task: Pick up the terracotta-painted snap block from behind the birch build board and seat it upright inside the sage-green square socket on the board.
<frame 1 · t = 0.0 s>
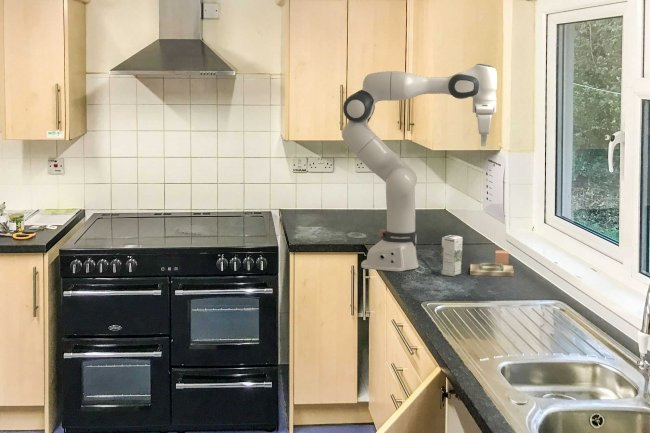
hand: (483, 145, 331), 48 cm above the table, fingers open, 8 cm apart
build board: (491, 272, 334), on the table
syrup box: (451, 274, 331), on the table
snap block: (501, 266, 343), on the table
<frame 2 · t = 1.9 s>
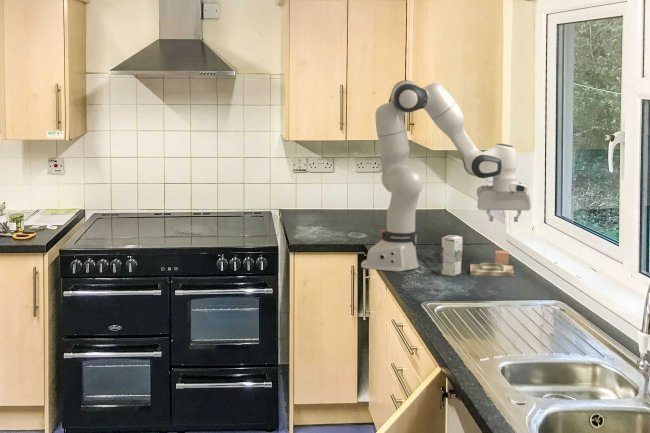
hand: (503, 221, 340), 18 cm above the table, fingers open, 8 cm apart
nothing on the table moved.
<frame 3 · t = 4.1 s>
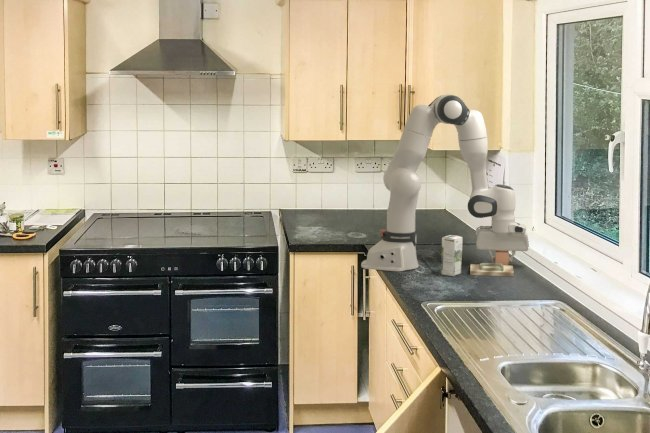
hand: (501, 261, 343), 2 cm above the table, fingers closed on snap block, 5 cm apart
snap block: (501, 266, 343), on the table, touching gripper
everything else where it was.
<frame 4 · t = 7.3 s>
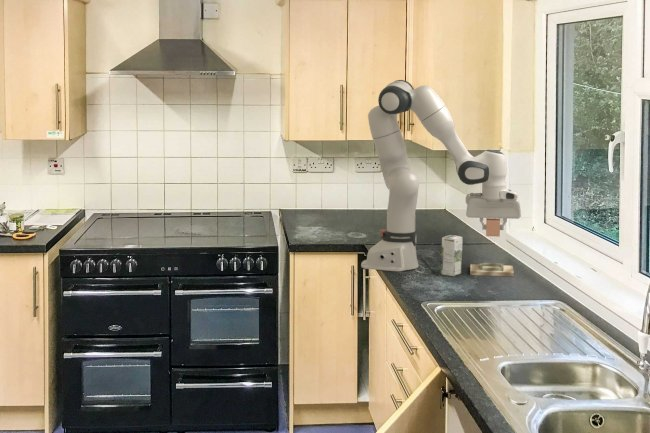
hand: (492, 229, 332), 16 cm above the table, fingers closed on snap block, 5 cm apart
snap block: (492, 235, 332), point 14 cm above the table, touching gripper
everything else where it was.
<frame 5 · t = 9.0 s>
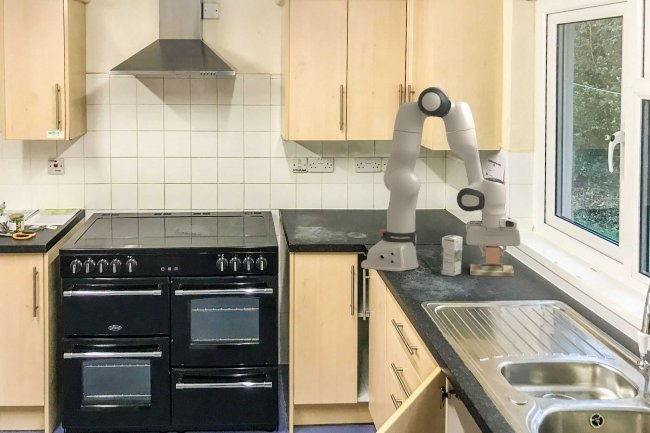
hand: (492, 256, 334), 6 cm above the table, fingers closed on snap block, 5 cm apart
snap block: (492, 262, 334), point 4 cm above the table, touching gripper
everything else where it was.
when the fingers open (5 cm above the table, at t = 10.4 s): snap block stays where it is, resting on build board.
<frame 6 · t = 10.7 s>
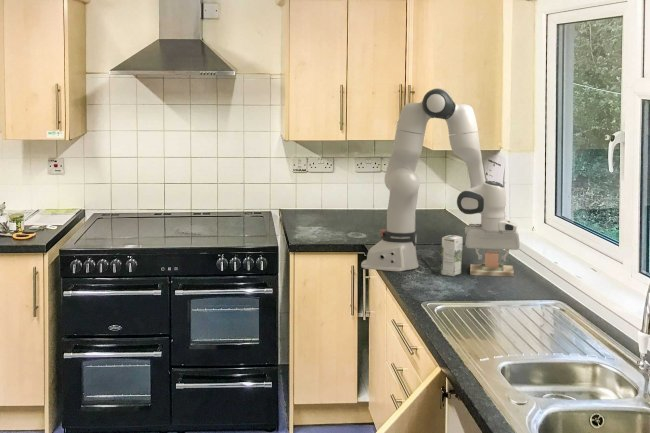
hand: (491, 260, 334), 5 cm above the table, fingers open, 7 cm apart
snap block: (491, 268, 334), point 1 cm above the table, touching build board
everything else where it was.
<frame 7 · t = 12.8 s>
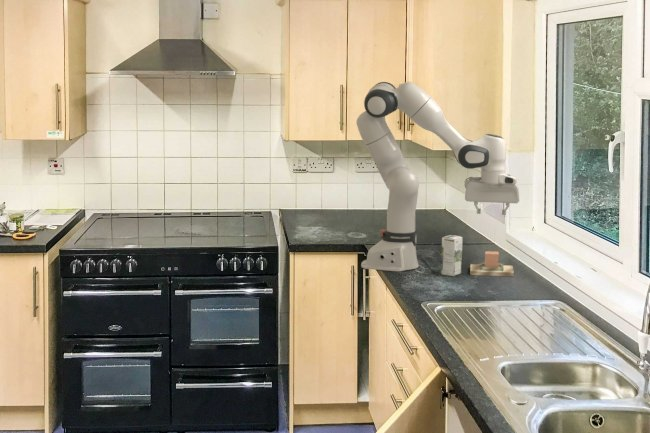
hand: (491, 214, 332), 22 cm above the table, fingers open, 8 cm apart
nothing on the table moved.
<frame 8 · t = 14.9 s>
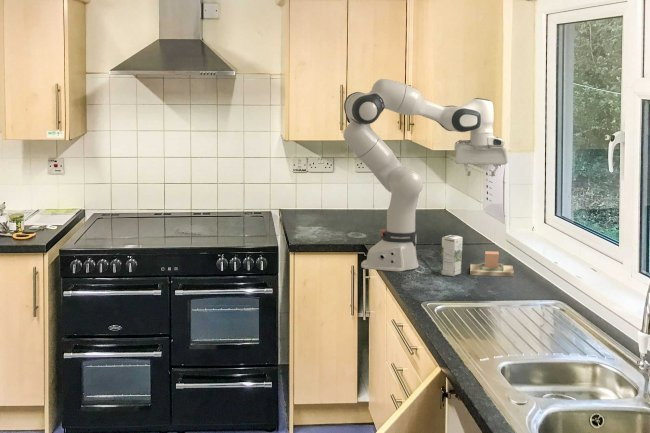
hand: (480, 175, 343), 35 cm above the table, fingers open, 8 cm apart
nothing on the table moved.
at the end: snap block 0.1 cm off-centre on the build board, point 1.5 cm above the build board's base; snap block tilted 0°; the gripper is holding nothing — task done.
